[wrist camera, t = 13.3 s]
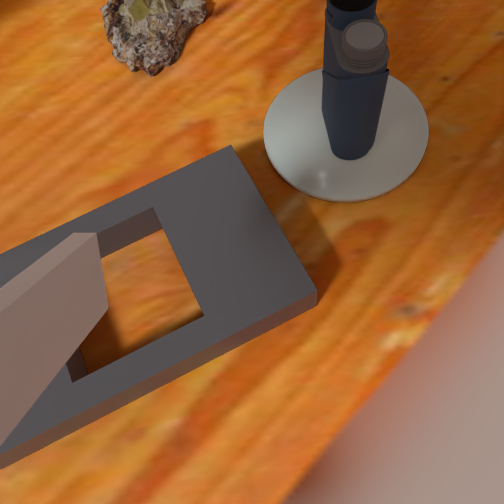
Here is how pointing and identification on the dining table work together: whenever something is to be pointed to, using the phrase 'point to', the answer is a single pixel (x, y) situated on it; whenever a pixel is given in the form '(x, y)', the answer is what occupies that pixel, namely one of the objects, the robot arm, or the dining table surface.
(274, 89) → the dining table surface
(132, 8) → the mineral rock
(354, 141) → the vaping device
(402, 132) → the coaster
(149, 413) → the dining table surface
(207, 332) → the block
